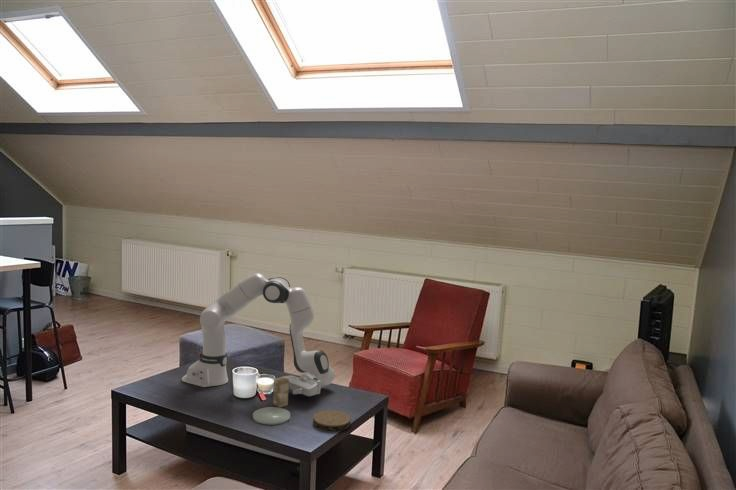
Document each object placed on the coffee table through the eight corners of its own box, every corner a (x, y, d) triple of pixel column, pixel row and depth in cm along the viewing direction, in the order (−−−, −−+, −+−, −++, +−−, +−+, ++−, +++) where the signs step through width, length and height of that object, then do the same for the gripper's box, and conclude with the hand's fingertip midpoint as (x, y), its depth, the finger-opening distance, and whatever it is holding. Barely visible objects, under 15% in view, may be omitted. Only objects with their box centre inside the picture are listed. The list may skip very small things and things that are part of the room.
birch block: (273, 404, 270) (274, 379, 268) (280, 402, 273) (281, 376, 272) (280, 407, 267) (281, 381, 265) (287, 404, 270) (288, 379, 269)
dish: (246, 421, 250) (246, 418, 250) (262, 407, 266) (262, 404, 266) (281, 427, 246) (281, 424, 246) (295, 413, 262) (296, 410, 262)
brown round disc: (345, 434, 244) (346, 427, 244) (308, 429, 247) (308, 422, 246) (353, 419, 260) (354, 412, 259) (318, 414, 262) (318, 408, 262)
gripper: (292, 370, 288) (270, 376, 278) (323, 381, 276) (301, 388, 265) (291, 382, 289) (270, 389, 279) (322, 394, 276) (300, 402, 266)
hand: (285, 389), depth 272 cm, fingers open, 8 cm apart
